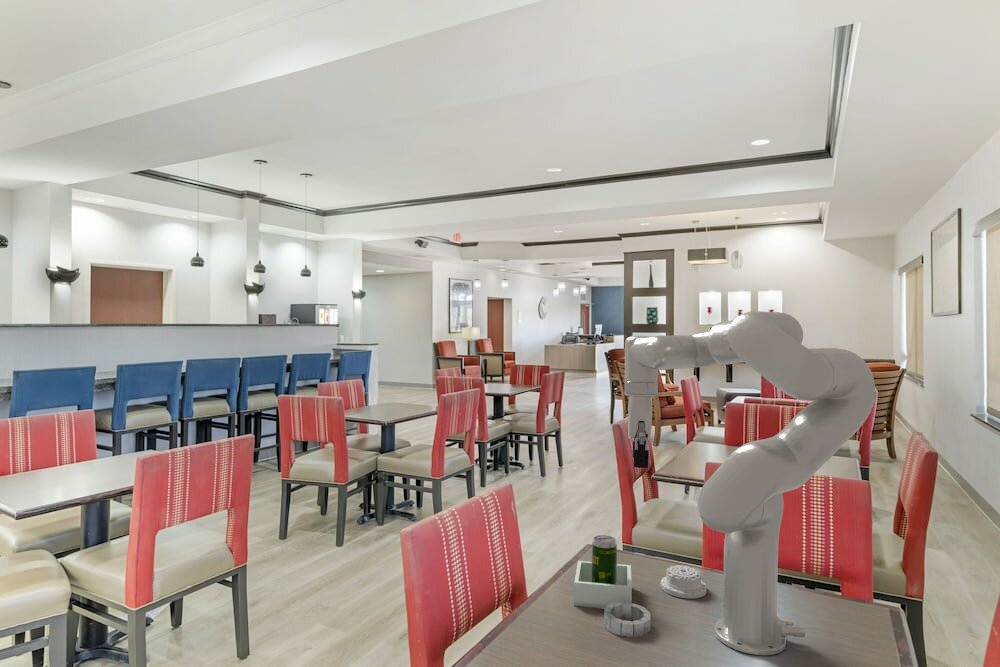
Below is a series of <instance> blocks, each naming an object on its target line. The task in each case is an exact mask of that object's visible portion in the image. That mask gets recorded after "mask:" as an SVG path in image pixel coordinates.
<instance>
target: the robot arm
mask: <svg viewBox="0 0 1000 667" xmlns="http://www.w3.org/2000/svg"><path fill="white" fill-rule="evenodd" d="M803 339H804V331H803V328H802V325H801V324H800V322H799V320H797V319H796V318H795V317H793V316H792V315H790V314H787V313H785V312H779V311H761V310H760V311H758V310H757V311H756V310H755V311H747V312H744V313H742V314H740V315H739V316H737V317H736V318H734V319H733V320H727V321H722V322H717V323H715V324H713V325H712V327H711V328H710V329H709V331H706V332H700V333H697V334H696V333H695V334H688V335H687V334H686V335H683V334H681V335H679V334H678V335H677V334H675V335H671V334H668V335H630V336H628V337H626V339H625V340H624V392H623V393H624V394H623V395H624V396H627V397H628V402H627V403H628V405H627V407H628V408H627V412H628V413H627V436H628V439H629V440H632V439H633V440H632V458H633V467H634V468H639V469H648V468H649V461H650V460H649V457H650V456H649V454H650V453H649V452H650V450H649V448H648V447H649V445H648V443H649V442H648V441H649V440H651V436H652V435H651V434H652V422H653V398H655V397H656V398H657V397H658V394H659V391H658V389H659V382H658V381H659V370H664V371H665V370H678V369H679V370H683V369H694V368H702V367H710V366H711V367H712V366H719V365H721V366H726V365H731V364H732V365H734V364H740V363H745V364H746V365H748V366H749V368H751V369H752V370H754V371H755V372H756V373H758V375H760V376H761V377H763V378H764V379H766V380H767V381H768V382H769V383H770V384H771V385H773V386H774V387H775V388H777V389H778V390H779V391H780V392H782V393H784V394H785V395H786V396H789V397H791V398H793V399H795V400H800V401H811V402H810V403H809V404H808V405H806V406H805V407H804V408H802V409H801V410H799V412H798V413H797V414H795V415H794V417H793V418H792V419H791V420H790V421H789V423H788V424H786V426H784V427H783V428H782V429H781V431H779V432H778V433H776V434H775V435H774V436H771V437H768V438H765V439H758V440H757V439H756V440H754V441H753V440H752V441H750V442H746V443H744V444H742V445H741V446H739V447H737V448H736V449H735V450H734V451H732V453H731V454H729V456H727V458H726V459H725V460H724V461H723V462H722V463H721V464H720V466H719V467H718V468H717V469H716V470H715V471H714V472H713V473H712V475H710V477H709V478H708V479H707V480H706V481H705V482H704V484H703V485H702V487H701V488H700V491H699V493H698V496H697V502H696V505H697V513H698V515H699V517H700V520H701V521H702V522H703V524H705V526H707V527H708V528H709V529H711V530H713V531H715V532H718V533H721V534H722V533H723V534H725V536H724V541H723V542H724V543H723V544H724V545H723V590H722V591H723V594H722V595H723V596H722V597H723V598H722V599H723V600H722V601H723V605H722V607H723V608H722V609H723V610H722V611H723V612H722V618H720V619H718V620H717V621H716V622H715V624H714V634H715V636H716V638H717V639H718V640H719V641H720V642H721V643H723V644H724V645H725V646H727V647H729V648H731V649H734V650H736V651H738V652H742V653H744V654H749V655H756V656H773V655H776V654H780V653H781V652H783V651H784V650H785V649H786V646H787V637H788V636H789V637H790V636H791V637H796V638H802V639H803V638H806V630H805V627H804V626H803V625H802V626H801V625H795V624H794V621H793V620H788V619H781V618H779V617H778V576H779V575H778V573H779V572H778V571H779V570H778V569H779V568H778V567H779V565H778V562H779V539H780V531H781V530H780V529H781V524H782V522H783V521H782V520H783V515H784V509H785V508H784V506H785V504H784V502H785V501H784V496H783V493H787V492H790V491H791V492H792V491H794V490H796V489H799V488H801V487H802V486H804V484H806V483H808V481H809V480H810V479H812V477H813V476H814V475H815V473H816V472H818V471H819V470H820V469H821V468H822V467H823V466H824V465H825V464H826V463H827V462H828V461H829V460H830V459H831V458H832V457H833V456H834V455H835V454H836V452H837V451H839V449H841V448H842V446H844V445H845V444H846V443H847V442H848V441H849V440H850V439H851V438H852V437H853V436H854V435H855V433H857V432H858V431H859V430H860V429H861V427H862V426H863V425H864V424H865V422H866V420H868V418H869V415H871V413H872V409H873V406H874V404H875V400H876V384H875V379H874V376H873V375H874V374H873V373H872V370H871V368H870V366H869V365H868V363H867V362H866V361H865V360H864V358H862V357H861V356H859V355H858V354H857V353H855V352H852V351H850V350H847V349H843V348H837V347H836V348H835V347H830V348H829V347H823V348H820V347H819V348H808V347H806V346H805V345H803V344H802V343H803V341H804V340H803Z"/></svg>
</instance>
